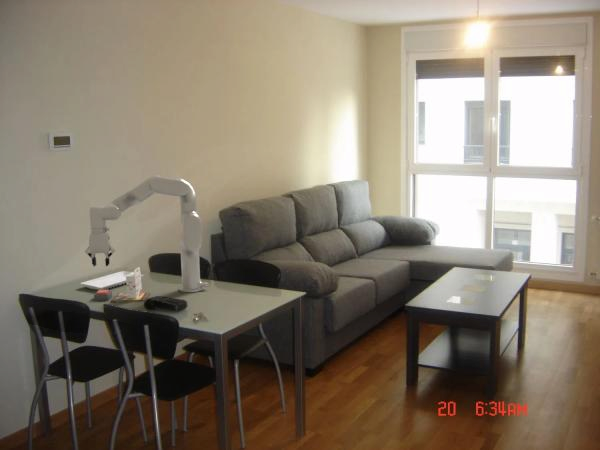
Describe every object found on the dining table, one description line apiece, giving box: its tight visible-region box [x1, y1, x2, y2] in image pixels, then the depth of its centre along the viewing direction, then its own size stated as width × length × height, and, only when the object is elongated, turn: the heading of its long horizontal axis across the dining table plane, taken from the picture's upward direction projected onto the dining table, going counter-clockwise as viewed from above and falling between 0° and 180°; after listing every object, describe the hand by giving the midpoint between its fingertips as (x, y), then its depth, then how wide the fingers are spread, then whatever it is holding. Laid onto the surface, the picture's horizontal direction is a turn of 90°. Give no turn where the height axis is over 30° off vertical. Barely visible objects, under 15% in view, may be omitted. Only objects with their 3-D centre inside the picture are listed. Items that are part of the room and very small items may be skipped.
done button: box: [96, 289, 110, 295], centre depth 338 cm, size 5×5×2 cm
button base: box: [93, 290, 113, 302], centre depth 338 cm, size 7×7×3 cm
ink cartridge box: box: [125, 266, 143, 299], centre depth 338 cm, size 9×5×15 cm, turn 173°
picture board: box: [110, 292, 151, 303], centre depth 339 cm, size 17×13×1 cm
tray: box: [79, 270, 144, 291], centre depth 367 cm, size 17×31×4 cm, turn 147°
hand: (101, 265), depth 335 cm, fingers open, 5 cm apart
